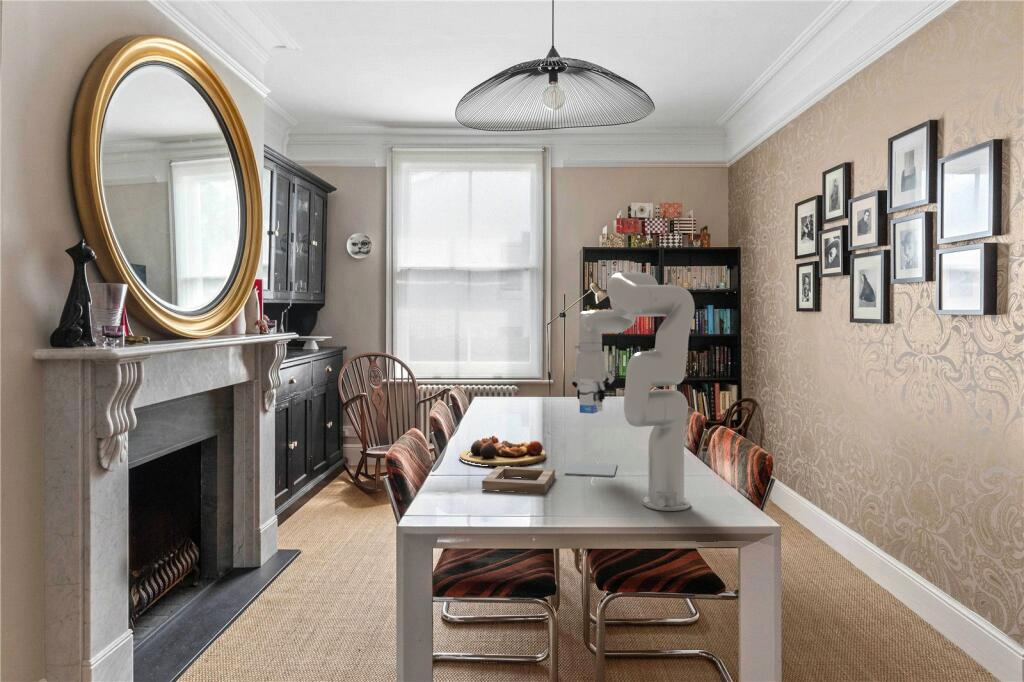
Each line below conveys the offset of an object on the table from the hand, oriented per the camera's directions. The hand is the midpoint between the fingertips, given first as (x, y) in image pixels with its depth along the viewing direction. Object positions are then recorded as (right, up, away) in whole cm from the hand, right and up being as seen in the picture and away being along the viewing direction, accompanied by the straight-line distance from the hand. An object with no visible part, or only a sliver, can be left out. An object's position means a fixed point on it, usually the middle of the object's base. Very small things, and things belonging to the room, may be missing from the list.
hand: (591, 401), depth 214 cm
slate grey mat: (0, -23, +1) cm, 23 cm away
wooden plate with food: (-30, -24, +21) cm, 44 cm away
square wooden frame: (-24, -24, -16) cm, 38 cm away
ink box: (0, -4, 0) cm, 4 cm away
